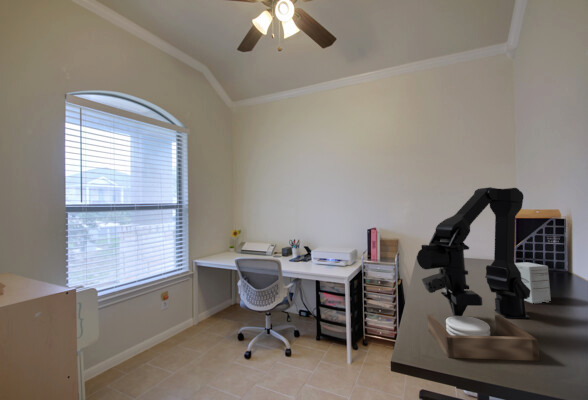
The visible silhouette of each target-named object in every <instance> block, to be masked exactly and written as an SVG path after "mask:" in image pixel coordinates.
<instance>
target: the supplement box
mask: <svg viewBox="0 0 588 400" xmlns="http://www.w3.org/2000/svg"><path fill="white" fill-rule="evenodd" d="M514 263H515V265H516V266H517V268H518V269H519V271H520V273H521V280H522V282H523V283H524V284H525V285H526V286H527V287H528V288H529V289H530V297H528V298H527V299H524V301H525V302H527V303H530V304H533V303H534V304H543V303H542V302H546V303H550V302H549V301H552V299H551V288H550V287H551V286H550V275H549V266H548V265H545V264H538V263H534V262H530V261H529V262H528V261H527V262H526V261H525V262H514Z"/></svg>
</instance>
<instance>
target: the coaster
mask: <svg viewBox="0 0 588 400" xmlns="http://www.w3.org/2000/svg"><path fill="white" fill-rule="evenodd" d="M445 324H446V325H445V327H446V328H445V330H446V331H447V332H448V333H449V334H450V335H464V336H491V327H490V325H489V323H488V322H487V321H484V320H482V319H479V318H476V317H472V316H467V315H462V316H454V315H451V316H449V317H447V318H446V319H445Z"/></svg>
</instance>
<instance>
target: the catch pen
mask: <svg viewBox="0 0 588 400" xmlns="http://www.w3.org/2000/svg"><path fill="white" fill-rule="evenodd" d="M426 315H427V317H426V318H427V326H428V327H427V329H428V332H429V333H430V335H431V336H432V337H433V339H434V340H435V342H436V343H437V344H438V345H439V347H440V348H441V350H442V351H443V352H444V354H445V355H446V356H447V357H448V358H449V359H450V358H452V359H454V358H455V359H475V360H476V359H477V360H478V359H479V360H480V359H481V360H482V359H483V360H507V361H508V360H510V361H512V360H513V361H532V362H533V361H535V362H536V361H539V362H540V360H541V359H540V351H539V340H538V339H537V338H535V337H534V336H532V335H531V334H530V333H528V332H526V331H525V330H523V329H522V328H520V327H518V326H517V325H515V324H514V323H512V322H511V321H509V320H508V319H507V318H505V317H504V316H502V315H500V314H499V315H497V314H496V315H494V320H495V321H494V323H495V333H497V336H496V335H495V336H494V335H492V336H491V335H490V336H464V335H450V334H449V333H448V332H447V331H446V328H445V327H444V326H443V325H442V324H441V323H440V322H439V321H438V320H437V319H436V317H435V316H434V315H433V314H426Z"/></svg>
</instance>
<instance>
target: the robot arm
mask: <svg viewBox="0 0 588 400" xmlns="http://www.w3.org/2000/svg"><path fill="white" fill-rule="evenodd" d="M523 202H524V194H523V192H522V191H520V189H518V188H517V187H507V188H496V187H490V186H489V187H481V188H477V189H475V190H474V192H473V195H472V196H470V197H469V199H468V200H467V201H466V202H465V203H464V204H463V206H461V207H460V209H459V210H457V212H455V214H454V215H452V216H449V217H447V218H445V219H444V220H442V221H441V222H439V223H438V224H437V225H436V227H435V231H434V233H433V235H432V238H431V239H430V241H429V243H428V244H421V246H420V247H421V249H419V251H418V253H417V256H416V259H417V263H418V265H419V267H420V268H421V269H423V270H431V269H432V270H434V269H438V270H439V271H438V273H435V274H432V275H429V276H426V277H423V278H421V281H422V283H423V285H424V289H425V290H426V291H427V292H428V293H430V294H433V293H436V292H437V291H439V290H443V291H441V292H440V294H441V295H442V296H443V297H444V298H446V299H447V301H448V304H449V307H450V309H451V312H452V316H464V313H465V312H466V309H467V307H468V306H471V307H473V306H477V307H478V306H481V307H482V306H483V298H482V297H481V296H480V295H479V294H478V293H477V292H475V291H473V290H471V289H470V285H469V284H467V277H466V275H467V276H468V275H469V271H468V270H467V269H466V265H465V253H464V251H466V250H467V251H468V250H470V246H468V245H467V244H466V243H464V242H465V241H466V239H467V238H468V236H469V234H470V233H471V225H472V223H473V222H475V220H476V219H477V218H478V217H479V216H480V214H482V213H483V211H484V210H485V209H486V208H487V206H488V205H489V208H490V210H491V211H492V213H493V214H494V218H495V219H494V221H495V222H494V255H493V257H494V258H493V259H494V260H493V262H492V263H491V264H490V265H489V264H488V265H486V267H485V270H486V272H485V279H486V283H487V285H488V287H489V290H490V292H491V293H495V298H494V304H495V305H494V306H495V309H494V311H495V312H496V313H498V314H499V315H500V316H501V317H503V318H505V319H530V316H529V315H528V314H526V303H525V302H526V301H524V299H527V298H528V297H530V289H529V288H528V287H527V286H526V285H525V284H524V283H523V282H522V280H521V273H520V271H519V269H518V268H517V266H516V265H515V263H516V262H515V244H516V243H515V242H516V240H515V239H516V236H515V235H516V216H517V215H518V213H519V212H520V211H521V210H522V208H523Z"/></svg>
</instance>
